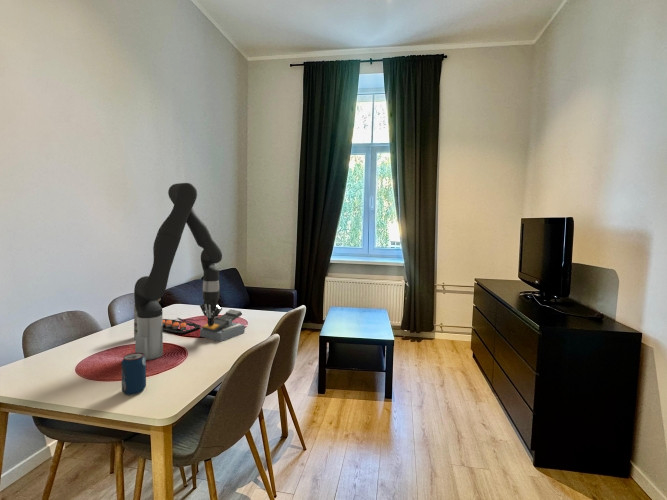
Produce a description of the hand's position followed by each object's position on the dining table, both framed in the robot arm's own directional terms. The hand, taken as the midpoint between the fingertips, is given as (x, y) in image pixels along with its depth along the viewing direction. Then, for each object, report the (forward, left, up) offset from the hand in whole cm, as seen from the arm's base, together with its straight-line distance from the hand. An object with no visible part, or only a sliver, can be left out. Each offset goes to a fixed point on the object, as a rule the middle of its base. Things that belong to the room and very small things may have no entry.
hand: (210, 325), depth 165 cm
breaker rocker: (+8, 0, 0) cm, 8 cm away
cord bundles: (+8, 0, -3) cm, 9 cm away
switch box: (+8, 0, -7) cm, 10 cm away
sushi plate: (+9, +31, -8) cm, 33 cm away
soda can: (-49, -19, -7) cm, 53 cm away
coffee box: (-14, +28, -7) cm, 32 cm away
